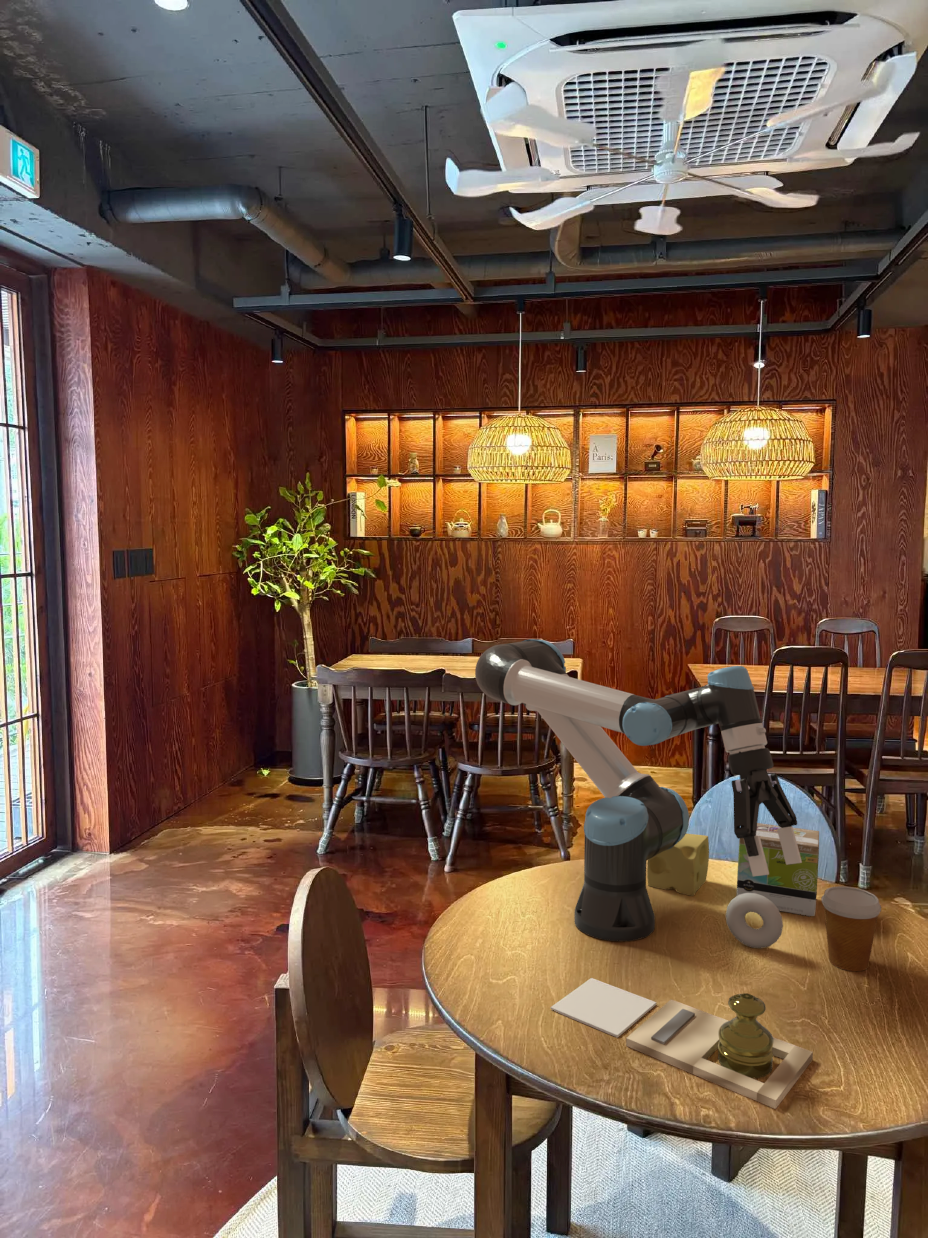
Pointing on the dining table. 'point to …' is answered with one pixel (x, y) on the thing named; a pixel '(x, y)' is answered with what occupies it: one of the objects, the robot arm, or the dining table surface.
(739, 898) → the donut
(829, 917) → the disposable coffee cup
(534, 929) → the dining table surface
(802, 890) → the tea box
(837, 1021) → the dining table surface
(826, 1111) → the dining table surface
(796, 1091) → the dining table surface
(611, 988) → the mat
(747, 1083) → the light wooden flat frame
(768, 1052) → the brass bell weight
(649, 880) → the cheese
